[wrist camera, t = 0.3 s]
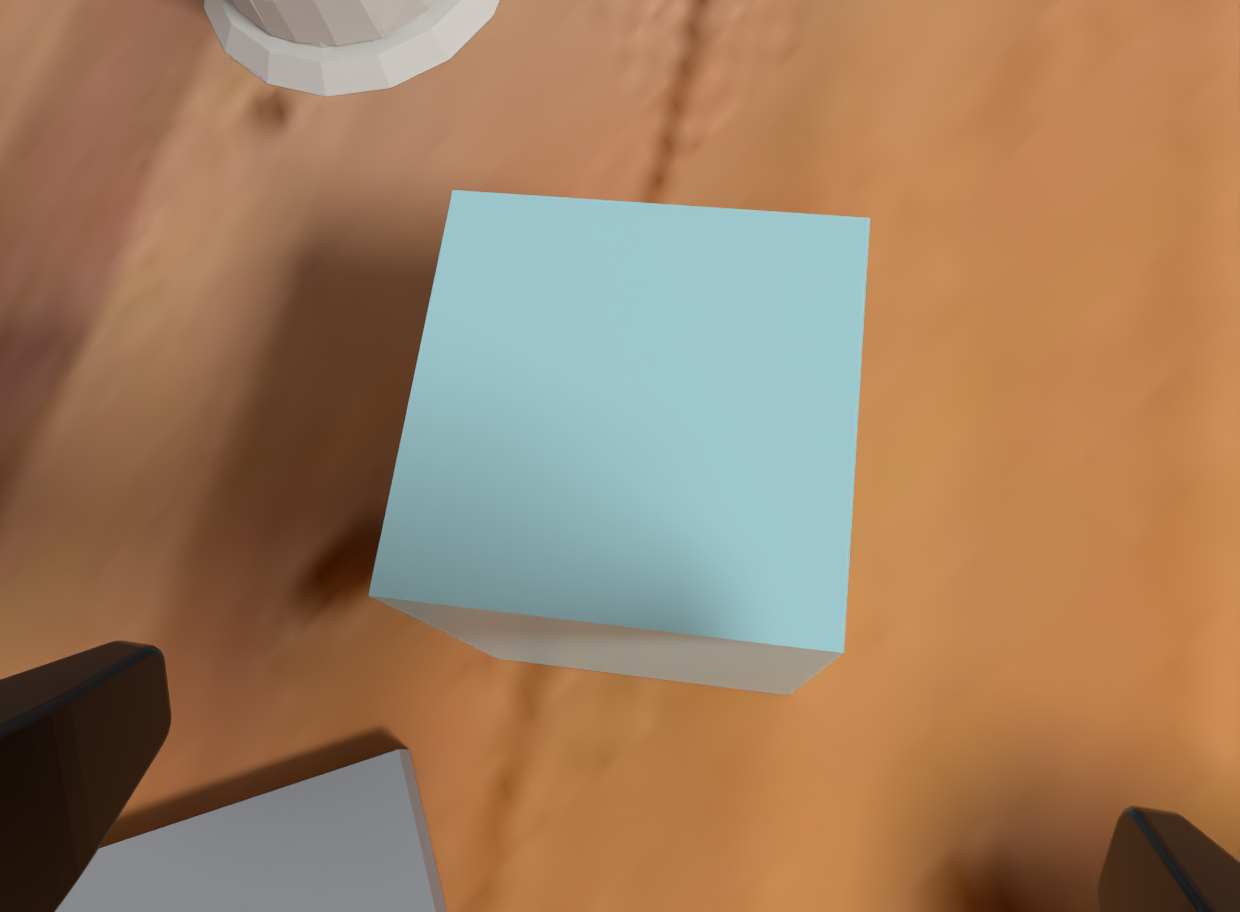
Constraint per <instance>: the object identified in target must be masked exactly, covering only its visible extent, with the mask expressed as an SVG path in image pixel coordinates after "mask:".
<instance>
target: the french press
mask: <svg viewBox="0 0 1240 912" xmlns="http://www.w3.org/2000/svg"><path fill="white" fill-rule="evenodd" d="M499 1H500V0H204V10H205V12H206V14H207V16H208V18H209V20H210V22H211V24H212V27H213V29H214V31H215V33H216V35H217V37H218V39H219V41H220V43H221V46H222V48H223V50H224V52H225V53H226V54H228V55H229V56H230V57H232V58H233V59H234V60H236V61H237V62H239V63H240V64H241V65H243V66H244V67H245V68H247V69H248V70H249V71H251V72H252V73H254V74H255V75H256V76H258V77H259V78H260V79H262V80H263V81H264V82H266V83H267V84H271V85H275V86H280V87H285V88H289V89H294V90H298V91H303V92H307V93H312V94H316V95H321V96H325V97H327V96H334V95H342V94H349V93H357V92H364V91H372V90H380V89H387V88H391V87H393V86H396V85H398V84H400V83H402V82H404V81H406V80H408V79H410V78H412V77H414V76H416V75H418V74H420V73H422V72H424V71H427V70H429V69H431V68H433V67H435V66H437V65H439V64H441V63H443V62H445V61H447V60H449V59H450V58H451V57H452V56H453V55H454V54H455V53H456V52H457V51H458V50H459V49H460V48H461V47H462V46H463V45H464V44H465V43H466V42H467V41H468V40H469V39H470V38H471V37H472V36H473V35H474V34H475V33H476V32H477V31H478V30H479V29H480V28H481V27H482V26H483V25H484V24H485V23H486V22H487V21H488V20H489V19H490V18H491V17H492V16H493V15H494V12H495V10H496V8H497V5H498V3H499Z"/></svg>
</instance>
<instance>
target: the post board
mask: <svg viewBox="0 0 1240 912" xmlns="http://www.w3.org/2000/svg"><path fill="white" fill-rule="evenodd" d="M55 912H447V910H446V906H445V902H444V897H443V893H442V889H441V884H440V880H439V876H438V871H437V867H436V863H435V858H434V854H433V850H432V846H431V841H430V837H429V833H428V828H427V824H426V820H425V815H424V811H423V807H422V802H421V798H420V794H419V789H418V785H417V781H416V776H415V772H414V768H413V763H412V759H411V755H410V750H408V749H398V750H395V751H392V752H389V753H386V754H383V755H380V756H377V757H374V758H370V759H367V760H364V761H361V762H358V763H355V764H352V765H349V766H346V767H343V768H340V769H337V770H334V771H331V772H328V773H325V774H322V775H319V776H316V777H313V778H310V779H307V780H304V781H301V782H298V783H295V784H292V785H289V786H286V787H283V788H280V789H277V790H274V791H271V792H268V793H265V794H262V795H259V796H256V797H253V798H250V799H247V800H244V801H241V802H238V803H235V804H232V805H229V806H226V807H223V808H220V809H217V810H214V811H211V812H208V813H205V814H202V815H199V816H196V817H193V818H190V819H187V820H184V821H181V822H178V823H174V824H171V825H168V826H165V827H162V828H159V829H156V830H153V831H150V832H147V833H144V834H141V835H138V836H135V837H132V838H129V839H126V840H123V841H120V842H117V843H114V844H111V845H108V846H105V847H102V848H99V849H98V851H97V852H96V854H95V855H94V857H93V858H92V860H91V861H90V863H89V864H88V866H87V867H86V869H85V870H84V872H83V874H82V875H81V877H80V878H79V879H78V881H77V882H76V884H75V885H74V886H73V888H72V889H71V891H70V892H69V893H68V895H67V896H66V898H65V899H64V900H63V902H62V903H61V904H60V906H59V907H58V908H57V910H56V911H55Z"/></svg>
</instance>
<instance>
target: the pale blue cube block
mask: <svg viewBox="0 0 1240 912" xmlns="http://www.w3.org/2000/svg"><path fill="white" fill-rule="evenodd" d="M869 228H870V218H863V217H848V216H833V215H818V214H803V213H788V212H773V211H759V210H744V209H729V208H714V207H699V206H684V205H669V204H654V203H639V202H624V201H609V200H594V199H579V198H564V197H549V196H534V195H519V194H504V193H490V192H475V191H460V190H453V191H452V196H451V201H450V206H449V210H448V215H447V220H446V225H445V230H444V234H443V239H442V244H441V249H440V254H439V258H438V263H437V268H436V273H435V278H434V282H433V287H432V292H431V297H430V302H429V306H428V311H427V316H426V321H425V326H424V330H423V335H422V340H421V345H420V350H419V354H418V359H417V364H416V369H415V374H414V378H413V383H412V388H411V393H410V398H409V402H408V407H407V412H406V417H405V422H404V426H403V431H402V436H401V441H400V446H399V450H398V455H397V460H396V465H395V470H394V474H393V479H392V484H391V489H390V494H389V498H388V503H387V508H386V513H385V518H384V522H383V527H382V532H381V537H380V542H379V546H378V551H377V556H376V561H375V566H374V570H373V575H372V580H371V585H370V590H369V594H368V596H370V597H372V598H374V599H376V600H378V601H380V602H382V603H384V604H386V605H388V606H390V607H393V608H395V609H397V610H399V611H401V612H403V613H405V614H407V615H409V616H411V617H413V618H415V619H417V620H419V621H421V622H423V623H425V624H427V625H429V626H431V627H433V628H435V629H437V630H439V631H441V632H444V633H446V634H448V635H450V636H452V637H454V638H456V639H458V640H460V641H462V642H464V643H466V644H468V645H470V646H472V647H474V648H476V649H478V650H480V651H482V652H484V653H486V654H488V655H490V656H493V657H495V658H497V659H504V660H512V661H520V662H528V663H535V664H543V665H551V666H559V667H567V668H575V669H583V670H591V671H598V672H606V673H614V674H622V675H630V676H638V677H646V678H654V679H661V680H669V681H677V682H685V683H693V684H701V685H709V686H717V687H724V688H732V689H740V690H748V691H756V692H764V693H772V694H780V695H787V696H789V695H790V694H792V693H793V692H794V691H796V690H797V689H798V688H799V687H801V686H802V685H803V684H805V683H806V682H807V681H809V680H810V679H811V678H812V677H814V676H815V675H816V674H818V673H819V672H820V671H821V670H823V669H824V668H825V667H827V666H828V665H829V664H830V663H832V662H833V661H834V660H836V659H837V658H838V657H839V656H841V655H842V654H843V653H844V641H845V625H846V608H847V592H848V575H849V559H850V542H851V526H852V509H853V492H854V476H855V459H856V443H857V426H858V410H859V393H860V377H861V360H862V344H863V327H864V311H865V294H866V278H867V261H868V245H869Z"/></svg>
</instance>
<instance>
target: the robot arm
mask: <svg viewBox="0 0 1240 912" xmlns="http://www.w3.org/2000/svg"><path fill="white" fill-rule="evenodd" d="M170 724H171V708H170V700H169V692H168V683H167V675H166V666H165V660H164V656H163V654H162V652H161V651H160V650H159V649H158V648H157V647H155V646H153V645H147V644H141V643H135V642H129V641H114V642H110V643H107V644H104V645H101V646H98V647H95V648H93V649H90V650H87V651H84V652H81V653H78V654H75V655H72V656H69V657H66V658H63V659H60V660H57V661H54V662H51V663H48V664H45V665H42V666H40V667H37V668H34V669H31V670H28V671H25V672H22V673H19V674H16V675H13V676H10V677H7V678H4V679H1V680H0V912H55V911H56V910H57V908H58V907H59V906H60V904H61V903H62V902H63V900H64V899H65V898H66V896H67V895H68V893H69V892H70V891H71V889H72V888H73V886H74V885H75V884H76V882H77V881H78V879H79V878H80V877H81V875H82V874H83V872H84V870H85V869H86V867H87V866H88V864H89V863H90V861H91V860H92V858H93V857H94V855H95V854H96V852H97V851H98V849H99V847H100V846H101V844H102V842H103V841H104V839H105V838H106V836H107V834H108V833H109V831H110V830H111V828H112V826H113V825H114V823H115V821H116V820H117V818H118V817H119V815H120V813H121V812H122V810H123V808H124V807H125V805H126V804H127V802H128V800H129V799H130V797H131V795H132V794H133V792H134V791H135V789H136V787H137V786H138V784H139V783H140V781H141V779H142V778H143V776H144V774H145V773H146V771H147V770H148V768H149V766H150V765H151V763H152V761H153V760H154V758H155V757H156V755H157V753H158V752H159V750H160V748H161V747H162V745H163V743H164V742H165V740H166V737H167V735H168V732H169V728H170ZM1097 899H1098V908H1099V912H1240V862H1239V861H1238V860H1236V859H1235V858H1234V857H1233V856H1231V855H1230V854H1229V853H1228V852H1226V851H1225V850H1224V849H1223V848H1221V847H1220V846H1219V845H1218V844H1216V843H1215V842H1214V841H1213V840H1211V839H1210V838H1209V837H1208V836H1206V835H1205V834H1204V833H1203V832H1201V831H1200V830H1199V829H1198V828H1196V827H1195V826H1194V825H1193V824H1191V823H1190V822H1189V821H1188V820H1186V819H1185V818H1184V817H1182V816H1181V815H1179V814H1177V813H1174V812H1170V811H1163V810H1157V809H1151V808H1145V807H1139V806H1131V807H1128V808H1126V809H1124V810H1123V812H1122V813H1121V815H1120V816H1119V819H1118V821H1117V824H1116V827H1115V830H1114V833H1113V836H1112V839H1111V842H1110V845H1109V848H1108V851H1107V854H1106V857H1105V860H1104V863H1103V867H1102V870H1101V873H1100V876H1099V880H1098V888H1097Z"/></svg>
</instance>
